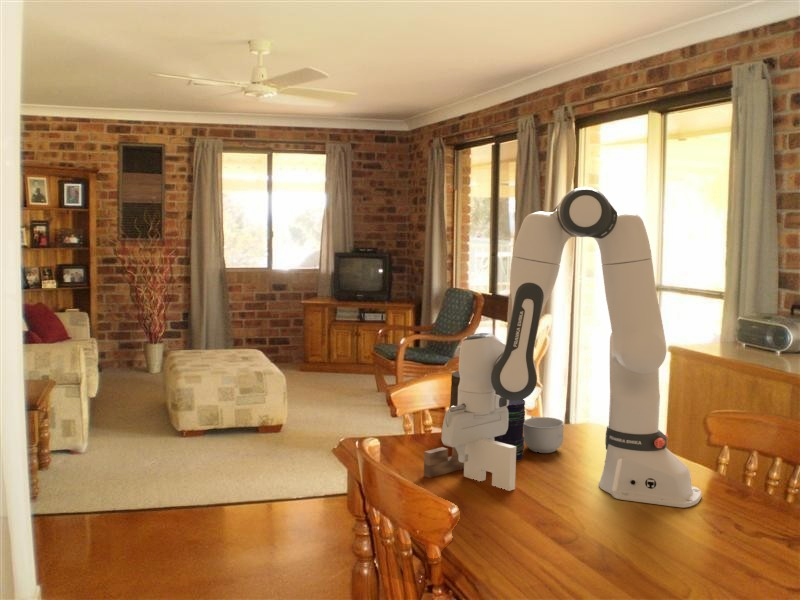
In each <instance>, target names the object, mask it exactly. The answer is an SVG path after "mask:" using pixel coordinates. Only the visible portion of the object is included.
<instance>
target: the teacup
mask: <svg viewBox="0 0 800 600" xmlns="http://www.w3.org/2000/svg"><path fill="white" fill-rule="evenodd" d="M564 424H565V422H564V421H563V420H562V419H559V418H555V417H548V416H547V417H545V416H542V417H541V416H539V417H538V416H537V415H536V416H535V415H533V416H531V417H530V418H526V419H525V421H524V423H523V437H524V445H526V447H527V448H529V450H531V451H532V452H534V453H537V452H539V454H550V453H554V452H556V451H557V450H558V449H559V448H560V447H561V446H562V445H563V442H564Z"/></svg>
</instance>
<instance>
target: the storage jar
mask: <svg viewBox="0 0 800 600" xmlns="http://www.w3.org/2000/svg"><path fill="white" fill-rule="evenodd" d="M525 405H526V400H524V399H522V400H518V401H511V400H509V405H508V406H507V408H508V413H509V420H508V430H507V432H506V434H504V435H500V436H496V437H494V441H498V442H501V443H505V444H509V445H512V446H516V462H518V461H517V460H520V461H522V460H523V459H522V458H524V449H525V441H524V430H523V423H524V421H525V420H526V419H525V416H526V407H525ZM521 459H522V460H521Z"/></svg>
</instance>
